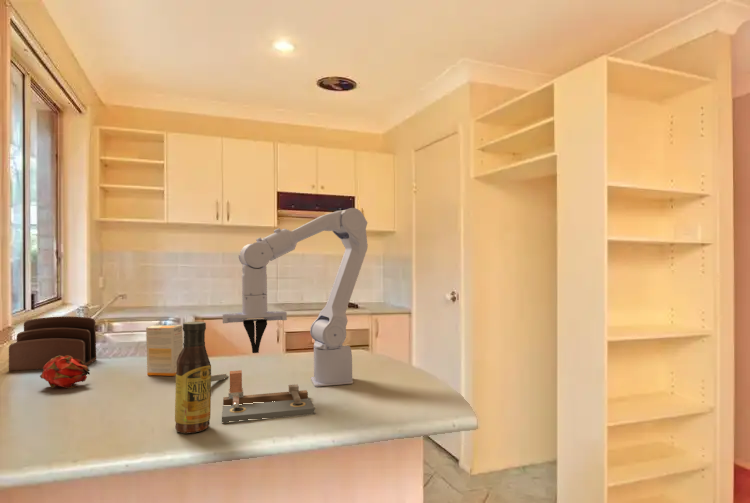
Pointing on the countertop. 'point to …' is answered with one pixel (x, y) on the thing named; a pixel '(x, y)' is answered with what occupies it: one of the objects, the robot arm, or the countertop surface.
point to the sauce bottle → (193, 381)
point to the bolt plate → (268, 410)
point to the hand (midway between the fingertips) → (255, 352)
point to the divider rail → (272, 396)
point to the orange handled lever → (236, 387)
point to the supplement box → (163, 349)
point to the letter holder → (53, 342)
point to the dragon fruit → (64, 371)
